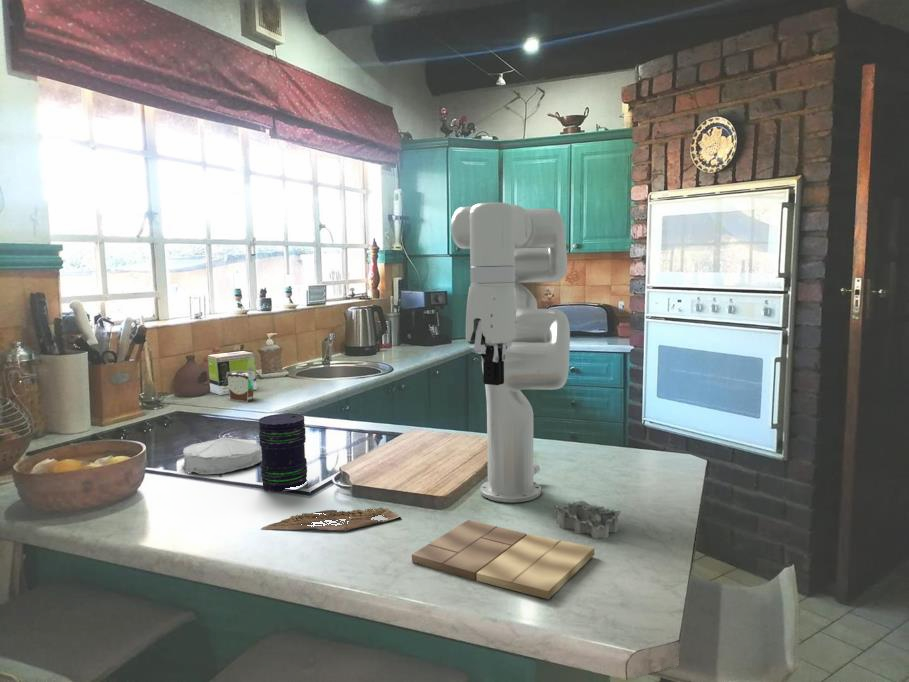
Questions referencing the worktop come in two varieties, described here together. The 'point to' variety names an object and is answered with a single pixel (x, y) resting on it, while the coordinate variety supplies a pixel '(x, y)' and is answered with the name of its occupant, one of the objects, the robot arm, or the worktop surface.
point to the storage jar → (282, 451)
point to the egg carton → (588, 519)
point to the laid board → (467, 548)
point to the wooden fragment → (334, 519)
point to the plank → (536, 565)
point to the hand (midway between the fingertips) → (493, 383)
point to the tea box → (228, 369)
